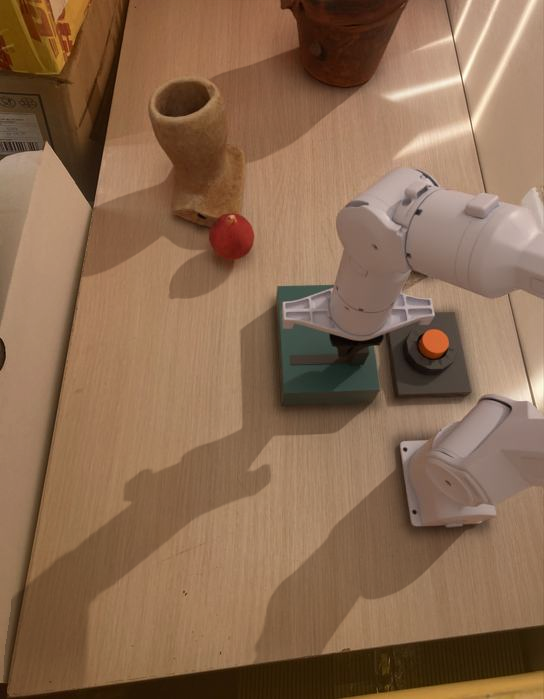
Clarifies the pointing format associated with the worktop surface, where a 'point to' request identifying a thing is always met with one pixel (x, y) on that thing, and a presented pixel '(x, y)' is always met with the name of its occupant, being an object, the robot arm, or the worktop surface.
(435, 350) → the button
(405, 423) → the worktop surface
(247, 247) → the onion
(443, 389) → the block
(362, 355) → the slider knob
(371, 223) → the robot arm
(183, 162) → the tan hollow curved piece
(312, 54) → the brown plant pot
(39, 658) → the worktop surface
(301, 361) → the green slider box
